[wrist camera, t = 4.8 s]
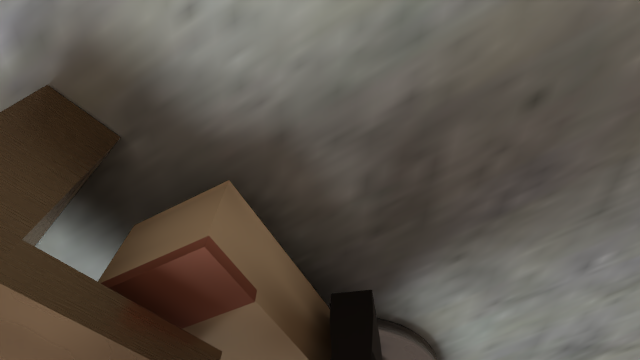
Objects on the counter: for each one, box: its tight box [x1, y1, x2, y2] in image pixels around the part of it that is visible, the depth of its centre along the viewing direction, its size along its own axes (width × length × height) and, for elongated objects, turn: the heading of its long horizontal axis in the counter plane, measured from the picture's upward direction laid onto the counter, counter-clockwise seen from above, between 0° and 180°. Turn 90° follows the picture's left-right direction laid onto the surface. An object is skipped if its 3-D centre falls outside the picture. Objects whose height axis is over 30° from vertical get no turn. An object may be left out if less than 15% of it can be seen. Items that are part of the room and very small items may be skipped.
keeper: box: [0, 85, 222, 360], centre depth 9 cm, size 6×5×4 cm
